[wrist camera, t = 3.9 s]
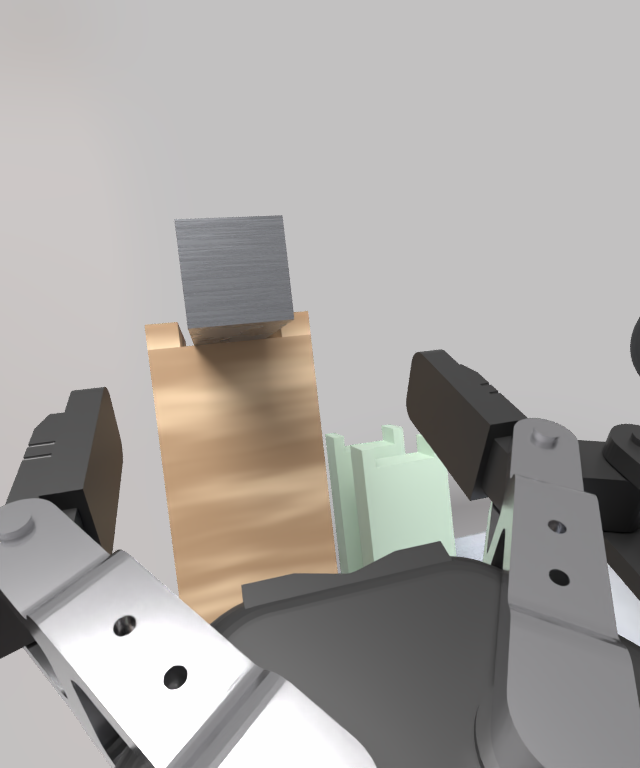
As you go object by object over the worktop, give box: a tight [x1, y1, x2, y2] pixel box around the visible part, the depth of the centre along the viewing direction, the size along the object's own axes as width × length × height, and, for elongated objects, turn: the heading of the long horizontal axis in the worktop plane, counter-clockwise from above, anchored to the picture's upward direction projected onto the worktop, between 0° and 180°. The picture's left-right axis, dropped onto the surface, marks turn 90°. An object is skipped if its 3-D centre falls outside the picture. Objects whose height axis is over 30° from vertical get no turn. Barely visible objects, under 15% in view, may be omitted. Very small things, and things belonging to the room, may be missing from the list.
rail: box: [175, 215, 294, 346], centre depth 26 cm, size 22×4×4 cm, turn 14°
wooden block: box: [145, 311, 338, 624], centre depth 30 cm, size 12×8×33 cm, turn 14°
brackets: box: [325, 425, 456, 574], centre depth 43 cm, size 13×8×24 cm, turn 14°
